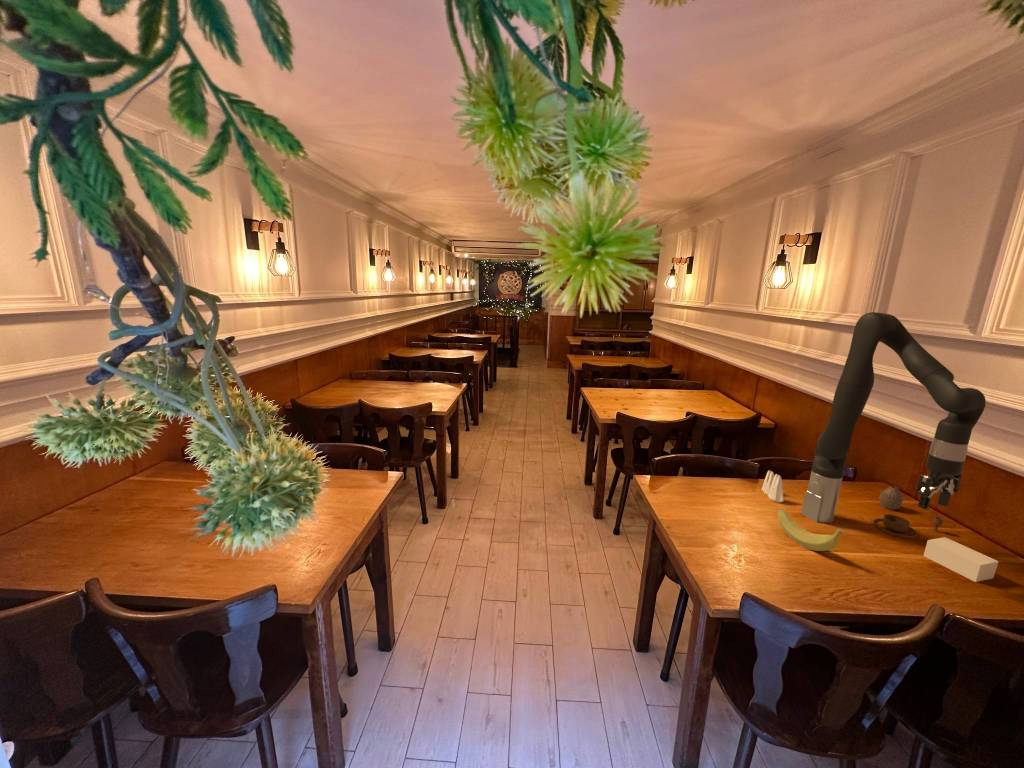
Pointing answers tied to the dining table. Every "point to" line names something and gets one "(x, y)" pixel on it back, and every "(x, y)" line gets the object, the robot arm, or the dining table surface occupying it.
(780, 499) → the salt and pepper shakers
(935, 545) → the block
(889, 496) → the grey rounded lump
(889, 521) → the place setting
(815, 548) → the banana
